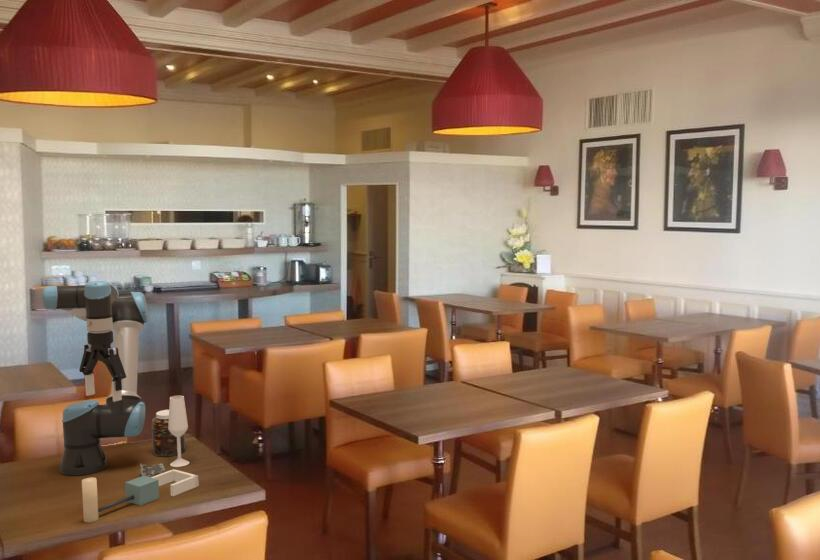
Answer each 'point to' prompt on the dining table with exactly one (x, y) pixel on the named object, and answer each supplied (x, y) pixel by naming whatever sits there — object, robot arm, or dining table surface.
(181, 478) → the white u-shaped bracket
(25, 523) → the dining table surface
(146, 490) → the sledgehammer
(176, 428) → the champagne flute
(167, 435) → the jar
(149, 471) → the egg carton
